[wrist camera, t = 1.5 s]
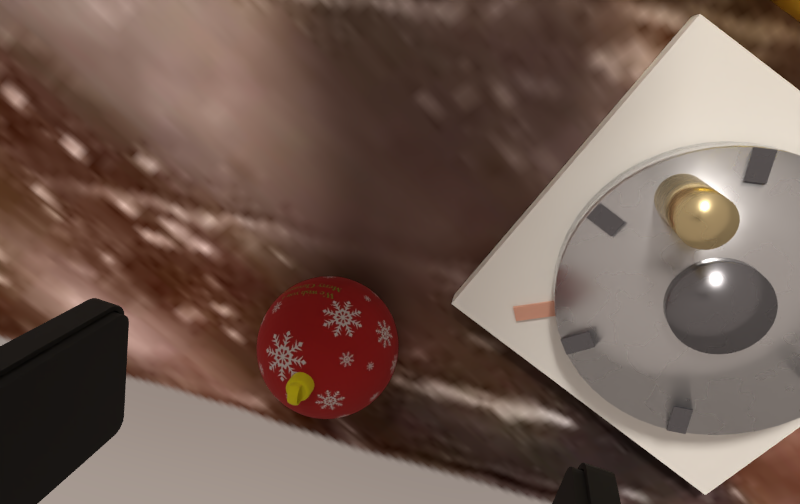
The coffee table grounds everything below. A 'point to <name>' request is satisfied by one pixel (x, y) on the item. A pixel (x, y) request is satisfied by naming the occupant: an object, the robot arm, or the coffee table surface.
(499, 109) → the coffee table surface
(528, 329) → the base plate
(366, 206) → the coffee table surface
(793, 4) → the element tile
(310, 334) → the christmas ornament
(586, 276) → the rotary dial
